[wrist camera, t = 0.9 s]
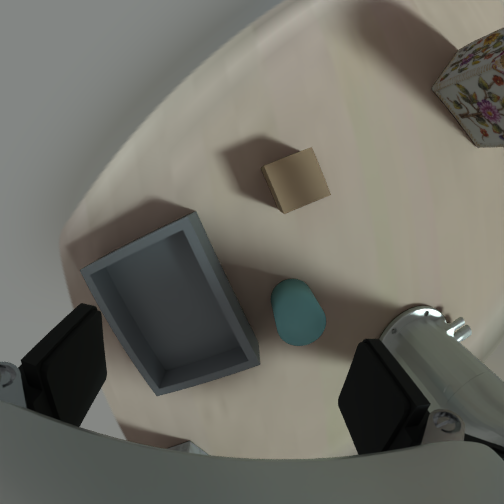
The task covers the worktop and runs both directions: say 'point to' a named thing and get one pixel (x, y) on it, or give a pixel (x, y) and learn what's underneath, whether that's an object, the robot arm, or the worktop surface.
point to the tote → (173, 308)
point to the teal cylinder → (297, 313)
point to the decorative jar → (477, 89)
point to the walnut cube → (296, 180)
